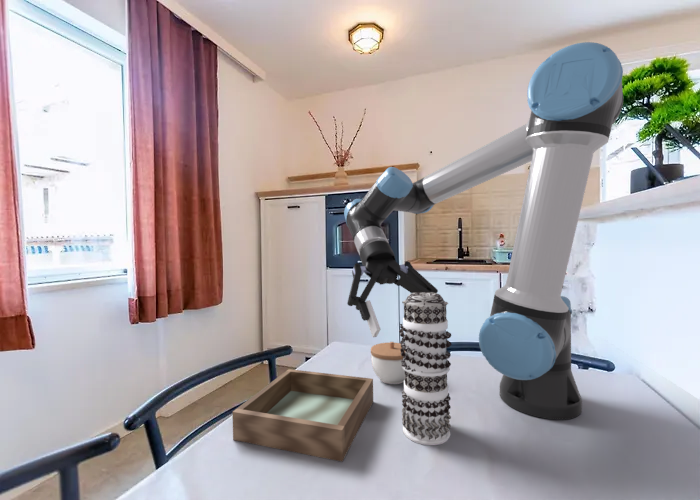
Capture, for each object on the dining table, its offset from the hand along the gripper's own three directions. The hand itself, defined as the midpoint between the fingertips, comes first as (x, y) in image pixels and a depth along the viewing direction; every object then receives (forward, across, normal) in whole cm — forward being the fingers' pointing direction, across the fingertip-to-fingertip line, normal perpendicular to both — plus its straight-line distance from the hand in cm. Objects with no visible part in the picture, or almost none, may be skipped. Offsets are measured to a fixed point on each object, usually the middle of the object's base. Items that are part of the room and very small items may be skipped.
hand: (408, 329), depth 63 cm
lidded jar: (0, -6, -26) cm, 26 cm away
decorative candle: (+16, -1, -9) cm, 18 cm away
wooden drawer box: (+7, +18, -18) cm, 26 cm away
